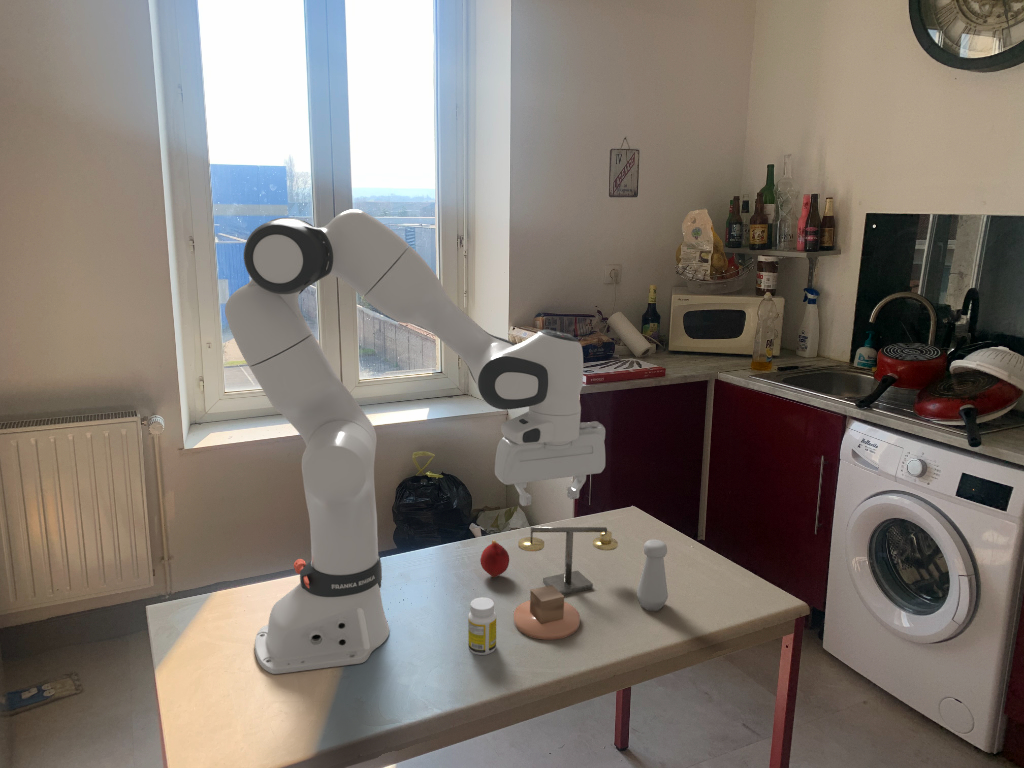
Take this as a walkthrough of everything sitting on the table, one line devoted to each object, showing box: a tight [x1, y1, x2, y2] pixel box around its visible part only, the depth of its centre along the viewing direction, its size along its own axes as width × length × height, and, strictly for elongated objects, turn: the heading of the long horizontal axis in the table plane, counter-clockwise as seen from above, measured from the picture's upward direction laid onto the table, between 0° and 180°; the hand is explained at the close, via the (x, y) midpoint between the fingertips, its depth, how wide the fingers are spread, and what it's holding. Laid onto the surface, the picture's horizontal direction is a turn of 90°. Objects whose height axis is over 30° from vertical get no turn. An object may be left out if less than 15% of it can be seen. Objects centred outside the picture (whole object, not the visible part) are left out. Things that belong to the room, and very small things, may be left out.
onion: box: [479, 539, 510, 578], centre depth 149 cm, size 6×6×8 cm
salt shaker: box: [636, 539, 669, 612], centre depth 139 cm, size 6×6×13 cm
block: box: [529, 585, 565, 624], centre depth 133 cm, size 4×4×4 cm
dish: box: [513, 599, 581, 641], centre depth 134 cm, size 12×12×1 cm
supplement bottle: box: [467, 596, 497, 656], centre depth 125 cm, size 5×5×8 cm
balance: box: [517, 526, 619, 596], centre depth 145 cm, size 22×6×14 cm, turn 115°
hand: (549, 501), depth 129 cm, fingers open, 8 cm apart
